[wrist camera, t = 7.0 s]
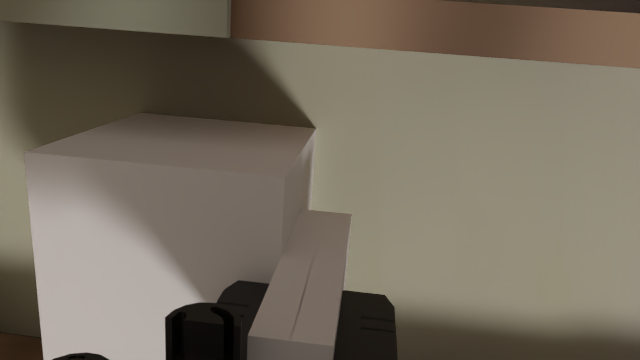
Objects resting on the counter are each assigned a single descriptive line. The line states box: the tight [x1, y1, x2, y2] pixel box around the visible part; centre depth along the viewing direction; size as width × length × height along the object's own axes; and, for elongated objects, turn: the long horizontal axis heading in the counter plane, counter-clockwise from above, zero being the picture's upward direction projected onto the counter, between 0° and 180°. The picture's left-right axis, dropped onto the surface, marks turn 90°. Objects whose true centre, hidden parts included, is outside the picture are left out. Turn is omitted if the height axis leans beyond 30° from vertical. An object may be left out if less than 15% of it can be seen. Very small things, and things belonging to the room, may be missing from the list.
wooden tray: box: [0, 0, 640, 360], centre depth 16 cm, size 36×14×4 cm, turn 86°
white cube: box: [24, 113, 316, 360], centre depth 15 cm, size 6×6×6 cm
